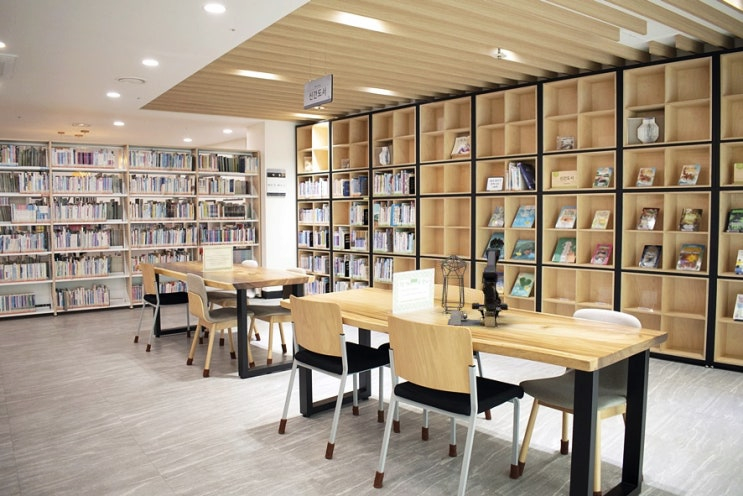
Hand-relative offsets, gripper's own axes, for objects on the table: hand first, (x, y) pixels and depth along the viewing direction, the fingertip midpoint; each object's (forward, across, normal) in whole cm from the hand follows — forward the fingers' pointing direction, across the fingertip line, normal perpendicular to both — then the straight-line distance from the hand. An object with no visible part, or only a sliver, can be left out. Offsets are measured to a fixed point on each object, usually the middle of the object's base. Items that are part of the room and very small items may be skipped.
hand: (489, 322), depth 312 cm
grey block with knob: (+1, -16, 0) cm, 16 cm away
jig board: (+1, -9, 0) cm, 9 cm away
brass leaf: (+1, -1, 0) cm, 1 cm away
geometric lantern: (+2, -20, +34) cm, 40 cm away
